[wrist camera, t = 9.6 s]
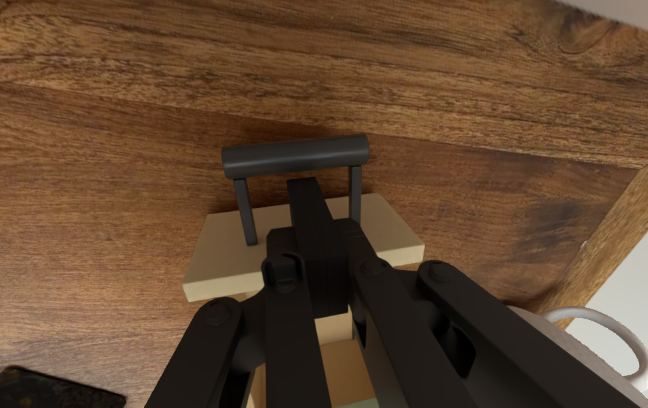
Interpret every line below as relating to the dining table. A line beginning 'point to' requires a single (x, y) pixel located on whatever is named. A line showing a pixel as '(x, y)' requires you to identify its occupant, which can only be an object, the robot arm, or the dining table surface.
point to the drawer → (254, 225)
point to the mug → (625, 384)
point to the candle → (50, 393)
